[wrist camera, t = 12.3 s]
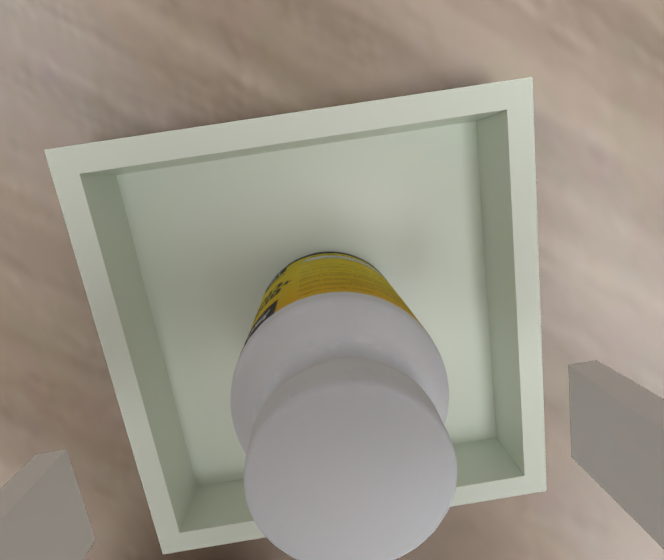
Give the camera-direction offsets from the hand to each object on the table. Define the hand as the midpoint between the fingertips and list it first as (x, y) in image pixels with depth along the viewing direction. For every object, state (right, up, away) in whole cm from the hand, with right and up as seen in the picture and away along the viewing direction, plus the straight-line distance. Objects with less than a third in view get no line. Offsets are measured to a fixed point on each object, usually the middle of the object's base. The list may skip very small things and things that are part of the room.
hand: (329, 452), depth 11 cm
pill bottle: (0, +3, +9) cm, 10 cm away
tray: (0, +3, +10) cm, 10 cm away
